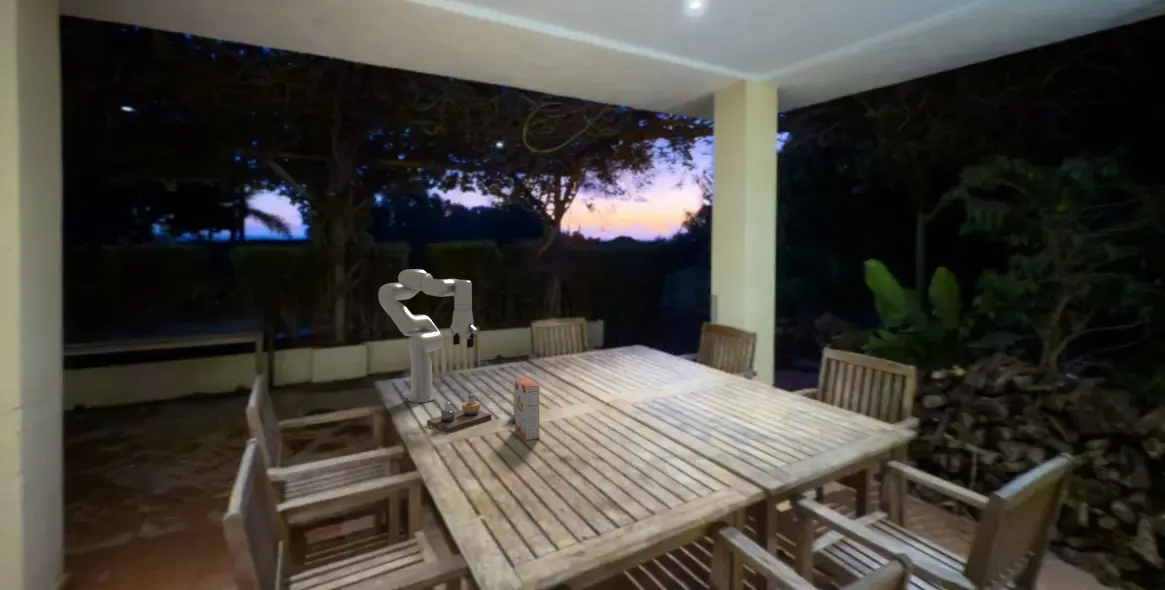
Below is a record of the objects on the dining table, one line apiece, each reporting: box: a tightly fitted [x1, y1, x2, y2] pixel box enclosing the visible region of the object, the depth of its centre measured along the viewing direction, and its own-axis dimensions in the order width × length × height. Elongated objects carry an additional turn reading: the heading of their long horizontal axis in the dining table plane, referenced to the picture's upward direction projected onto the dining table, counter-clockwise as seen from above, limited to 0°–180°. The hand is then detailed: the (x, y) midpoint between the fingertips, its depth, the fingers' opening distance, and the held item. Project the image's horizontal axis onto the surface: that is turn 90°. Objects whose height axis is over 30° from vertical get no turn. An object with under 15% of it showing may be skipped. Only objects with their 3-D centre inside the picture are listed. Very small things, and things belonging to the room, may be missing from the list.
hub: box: [464, 393, 480, 416], centre depth 223 cm, size 6×6×8 cm
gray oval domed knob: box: [440, 401, 455, 423], centre depth 213 cm, size 5×5×8 cm
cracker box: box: [514, 377, 540, 441], centre depth 204 cm, size 14×6×21 cm, turn 23°
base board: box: [426, 409, 492, 434], centre depth 218 cm, size 14×22×2 cm, turn 141°
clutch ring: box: [461, 400, 481, 412], centre depth 223 cm, size 7×7×2 cm
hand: (463, 345), depth 236 cm, fingers open, 9 cm apart
